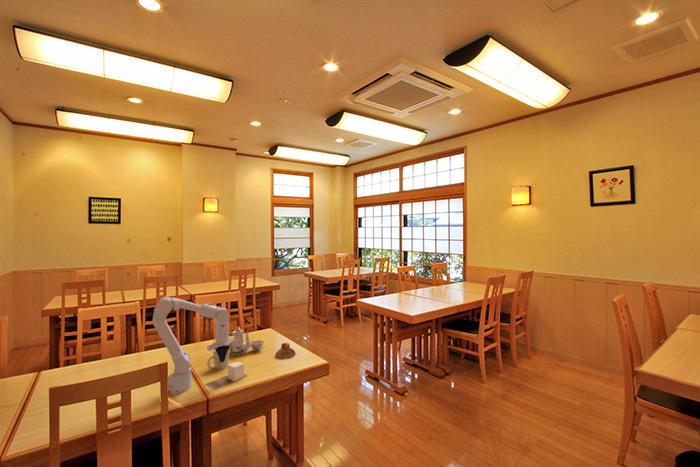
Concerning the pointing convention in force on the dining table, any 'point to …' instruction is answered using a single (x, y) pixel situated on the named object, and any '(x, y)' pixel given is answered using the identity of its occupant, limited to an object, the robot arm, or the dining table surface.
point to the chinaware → (243, 343)
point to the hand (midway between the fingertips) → (222, 361)
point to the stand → (221, 382)
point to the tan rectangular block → (235, 371)
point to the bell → (285, 351)
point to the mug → (218, 361)
